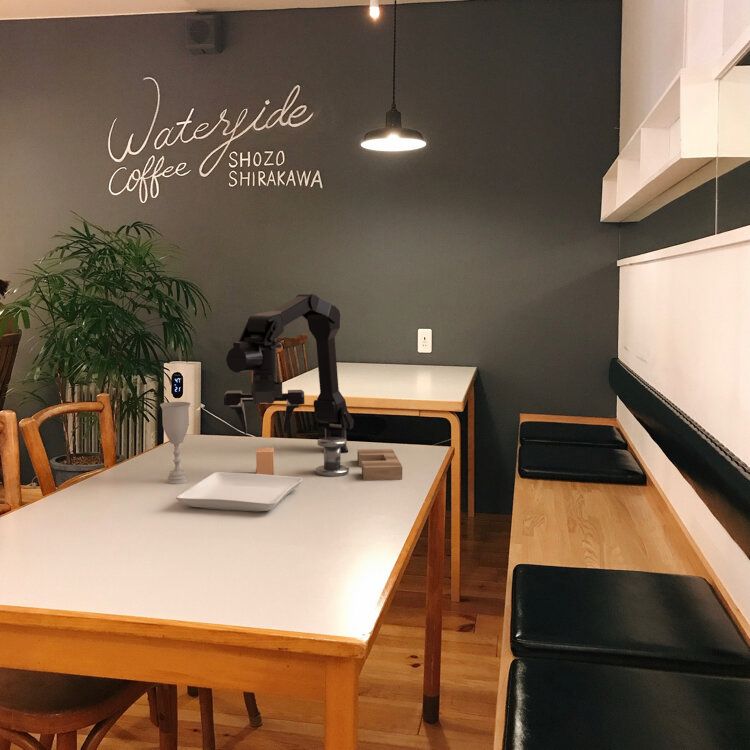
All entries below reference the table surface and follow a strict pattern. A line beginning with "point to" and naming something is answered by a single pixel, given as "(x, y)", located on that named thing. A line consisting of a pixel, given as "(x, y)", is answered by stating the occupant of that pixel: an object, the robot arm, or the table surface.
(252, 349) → the robot arm
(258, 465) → the wooden block
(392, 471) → the notched board
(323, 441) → the bobbin
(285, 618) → the table surface
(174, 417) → the chalice
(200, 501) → the salad plate
